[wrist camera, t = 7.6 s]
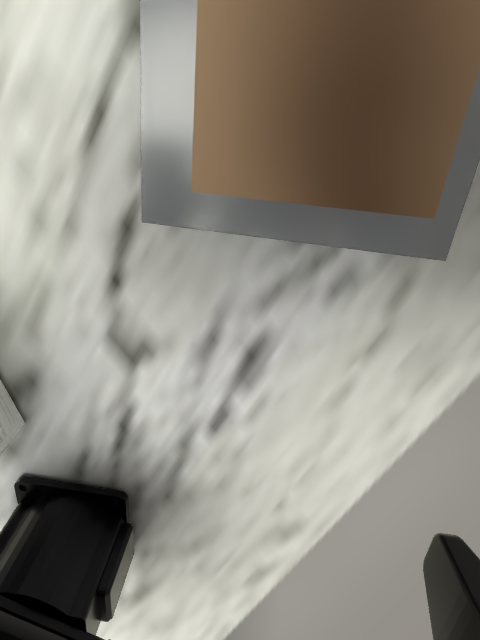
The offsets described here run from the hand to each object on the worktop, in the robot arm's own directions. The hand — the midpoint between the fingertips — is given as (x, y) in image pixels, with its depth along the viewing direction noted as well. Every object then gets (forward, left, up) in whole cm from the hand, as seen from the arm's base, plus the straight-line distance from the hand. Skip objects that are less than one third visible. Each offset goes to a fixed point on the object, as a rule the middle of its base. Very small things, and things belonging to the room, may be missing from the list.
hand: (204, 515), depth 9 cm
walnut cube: (+1, +8, -9) cm, 12 cm away
